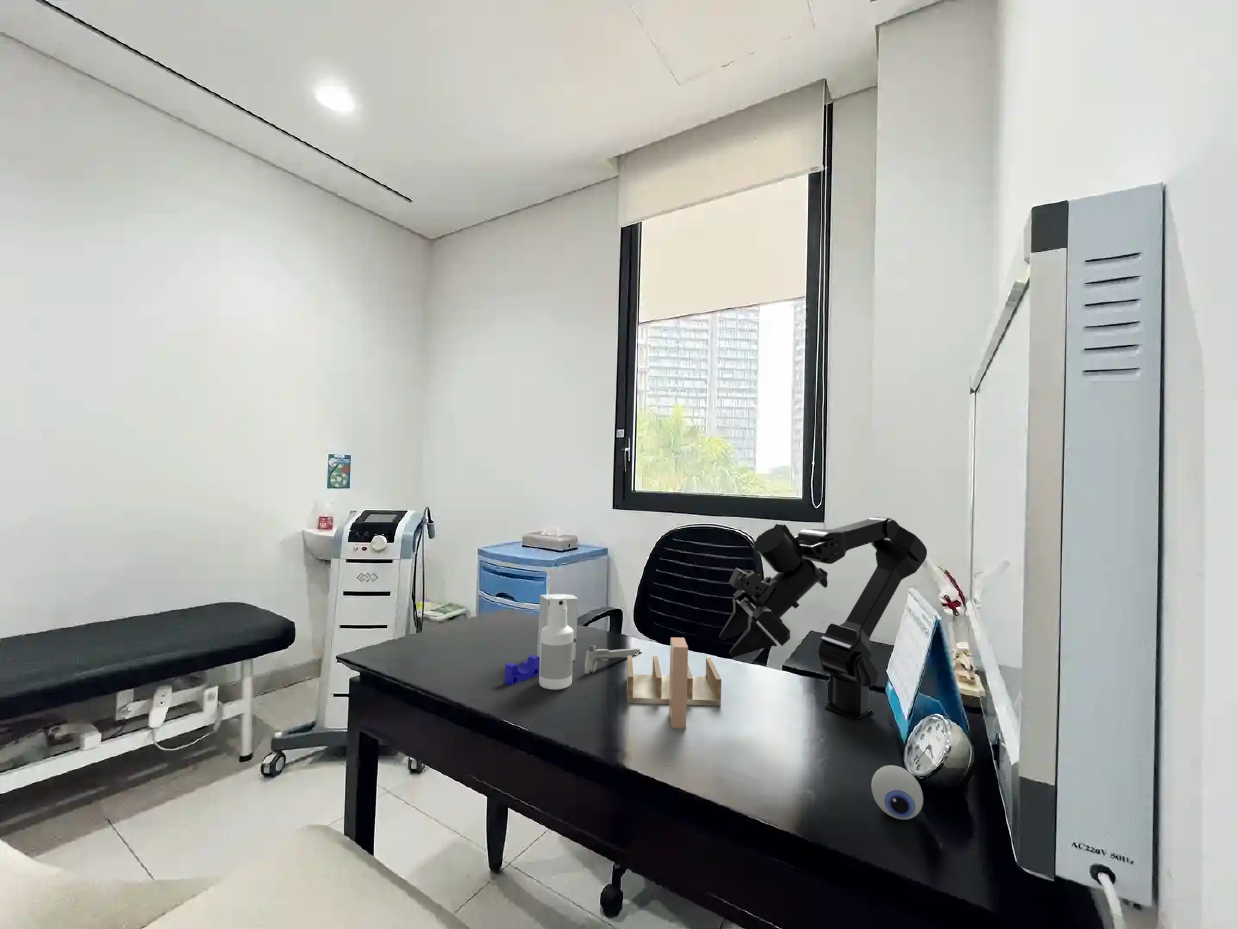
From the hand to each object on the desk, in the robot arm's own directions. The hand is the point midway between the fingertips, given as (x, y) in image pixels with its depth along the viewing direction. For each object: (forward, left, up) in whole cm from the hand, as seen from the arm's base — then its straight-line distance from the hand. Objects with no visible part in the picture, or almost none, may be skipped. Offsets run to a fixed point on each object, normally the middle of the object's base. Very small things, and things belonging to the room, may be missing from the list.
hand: (725, 646), depth 93 cm
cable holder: (+39, +21, -14) cm, 46 cm away
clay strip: (+5, +7, -13) cm, 16 cm away
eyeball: (-30, +1, -14) cm, 33 cm away
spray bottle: (+32, +16, -14) cm, 38 cm away
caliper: (+35, -2, -14) cm, 37 cm away
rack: (+15, -1, -13) cm, 20 cm away
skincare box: (+45, +8, -14) cm, 47 cm away
